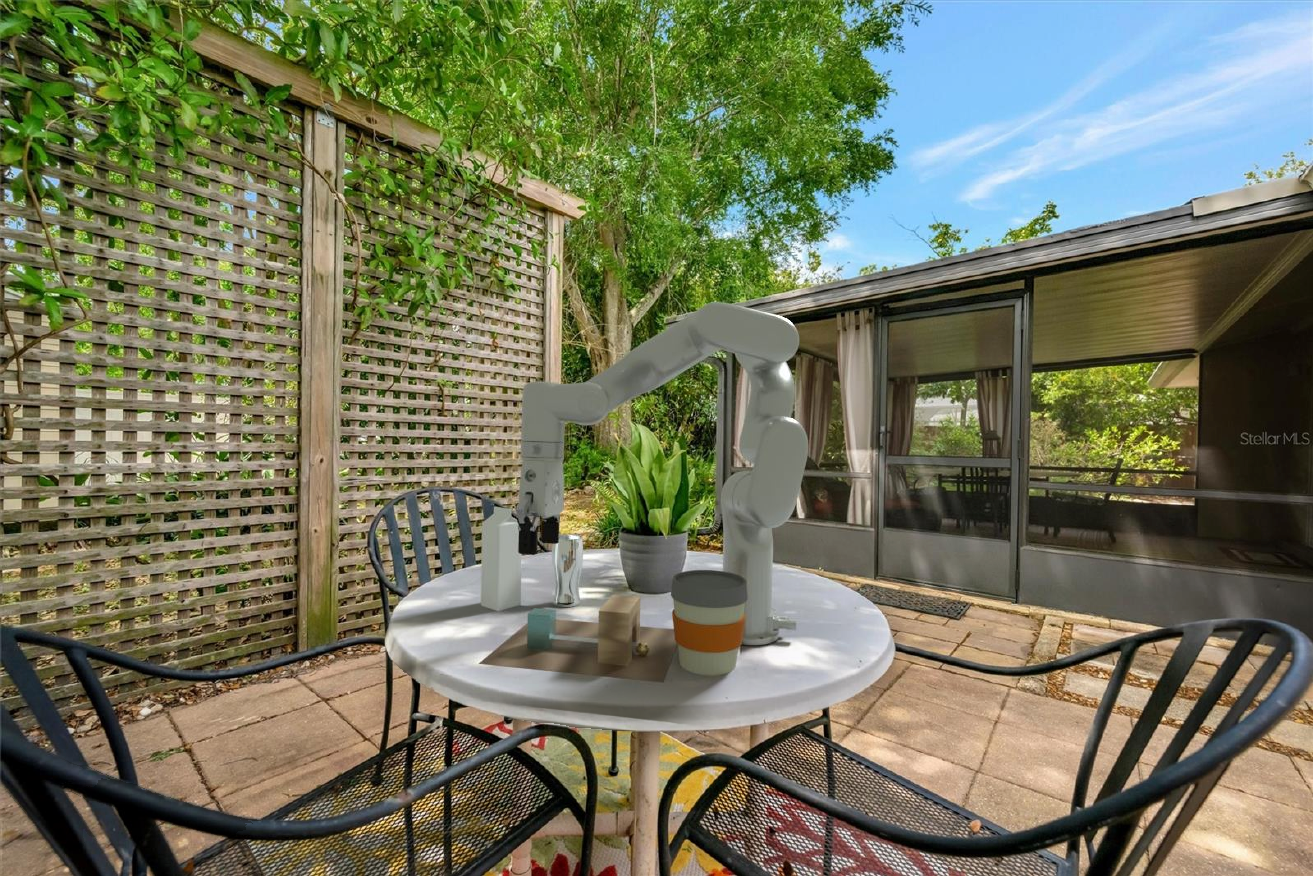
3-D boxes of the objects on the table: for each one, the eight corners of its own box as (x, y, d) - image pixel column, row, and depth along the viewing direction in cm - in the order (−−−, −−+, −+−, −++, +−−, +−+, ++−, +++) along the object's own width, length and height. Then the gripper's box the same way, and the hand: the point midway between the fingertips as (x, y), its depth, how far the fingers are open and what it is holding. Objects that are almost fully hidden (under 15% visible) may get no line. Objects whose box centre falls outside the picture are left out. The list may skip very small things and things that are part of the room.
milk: (497, 617, 114) (499, 511, 114) (480, 610, 118) (481, 507, 117) (521, 609, 119) (522, 508, 118) (503, 604, 122) (505, 505, 122)
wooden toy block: (639, 644, 98) (640, 596, 98) (627, 665, 89) (628, 613, 88) (612, 642, 98) (613, 594, 98) (597, 663, 89) (598, 610, 89)
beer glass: (579, 608, 120) (580, 540, 120) (547, 607, 120) (549, 539, 120) (584, 599, 127) (585, 534, 127) (554, 598, 127) (555, 533, 127)
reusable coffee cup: (683, 692, 83) (685, 592, 82) (659, 658, 95) (661, 571, 95) (759, 683, 86) (761, 587, 86) (727, 651, 98) (729, 568, 98)
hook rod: (650, 652, 94) (651, 617, 94) (647, 659, 91) (648, 623, 91) (533, 641, 98) (534, 608, 98) (527, 648, 95) (527, 613, 95)
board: (682, 636, 105) (682, 629, 105) (663, 690, 83) (663, 682, 83) (533, 623, 110) (533, 617, 110) (478, 671, 88) (478, 663, 88)
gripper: (542, 454, 88) (539, 560, 89) (578, 451, 105) (576, 541, 105) (499, 452, 90) (496, 557, 90) (542, 450, 107) (539, 538, 107)
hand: (539, 548), depth 98 cm, fingers open, 9 cm apart
